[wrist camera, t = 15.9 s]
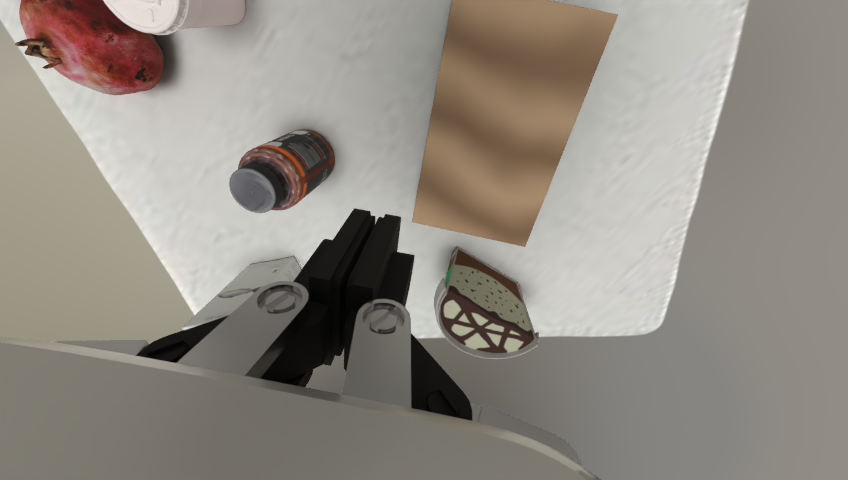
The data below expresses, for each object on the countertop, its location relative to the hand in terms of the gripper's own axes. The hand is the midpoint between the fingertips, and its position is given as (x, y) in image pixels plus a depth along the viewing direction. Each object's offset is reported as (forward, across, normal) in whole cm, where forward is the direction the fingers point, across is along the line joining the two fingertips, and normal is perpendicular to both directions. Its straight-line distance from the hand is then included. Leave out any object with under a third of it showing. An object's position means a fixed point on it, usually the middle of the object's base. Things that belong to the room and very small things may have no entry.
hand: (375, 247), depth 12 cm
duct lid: (+20, -6, 0) cm, 21 cm away
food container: (+24, -9, +19) cm, 32 cm away
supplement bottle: (+25, +13, +6) cm, 29 cm away
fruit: (+25, +31, -2) cm, 40 cm away
